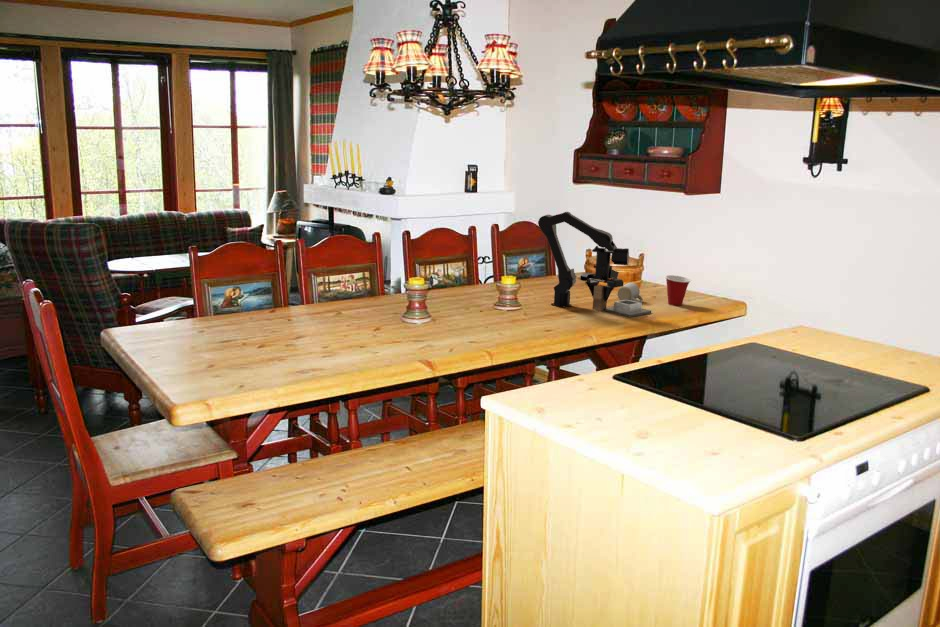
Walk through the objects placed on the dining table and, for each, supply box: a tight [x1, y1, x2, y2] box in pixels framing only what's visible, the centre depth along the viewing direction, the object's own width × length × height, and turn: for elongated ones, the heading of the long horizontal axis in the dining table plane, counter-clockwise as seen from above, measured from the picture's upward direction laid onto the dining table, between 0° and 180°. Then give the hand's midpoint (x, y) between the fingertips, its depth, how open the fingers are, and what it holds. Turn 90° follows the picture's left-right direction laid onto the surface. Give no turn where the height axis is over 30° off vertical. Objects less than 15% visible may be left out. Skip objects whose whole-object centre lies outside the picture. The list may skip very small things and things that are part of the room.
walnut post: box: [592, 284, 608, 312], centre depth 319 cm, size 4×4×10 cm
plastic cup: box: [665, 275, 692, 307], centre depth 334 cm, size 11×11×12 cm
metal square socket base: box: [602, 299, 652, 318], centre depth 318 cm, size 14×14×4 cm
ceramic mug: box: [616, 282, 643, 303], centre depth 338 cm, size 11×8×8 cm
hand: (600, 300), depth 319 cm, fingers open, 6 cm apart
